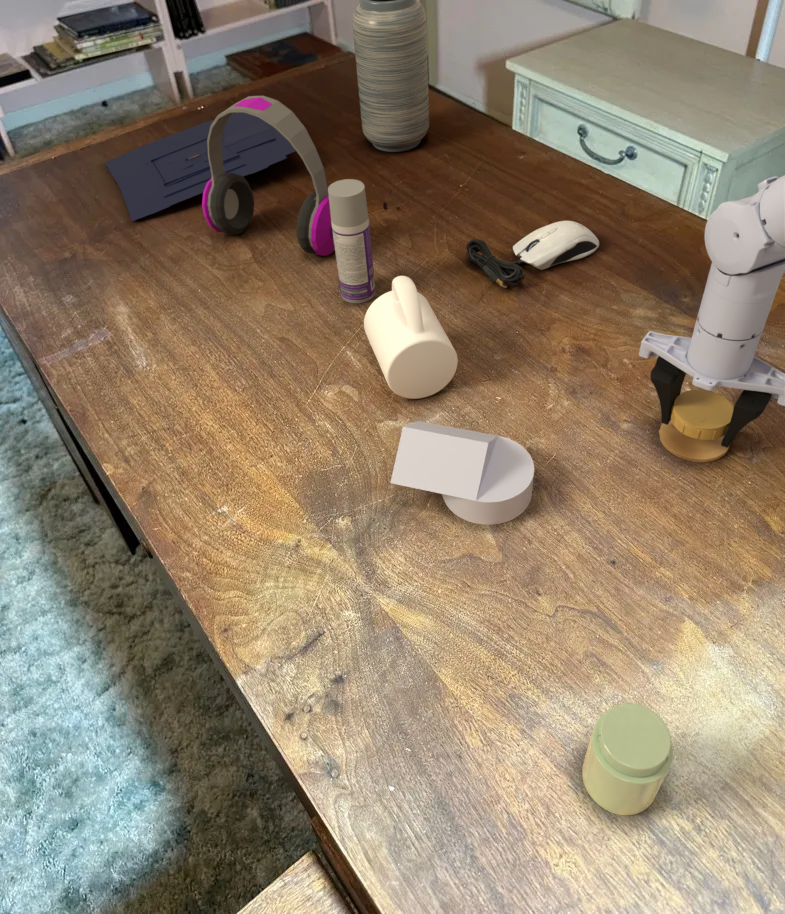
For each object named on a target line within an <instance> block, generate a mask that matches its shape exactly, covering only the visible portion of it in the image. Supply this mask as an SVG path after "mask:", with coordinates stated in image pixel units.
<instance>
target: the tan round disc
mask: <svg viewBox="0 0 785 914" xmlns="http://www.w3.org/2000/svg"><path fill="white" fill-rule="evenodd" d="M658 432H659V434H658V435H659V440H660V442H661V445H662V446H663V447H664V448H665V450H667V452H669V453H670V454H671V455H674V457H677V458H679V459H681V460H684V461H687V462H690V463H691V462H692V463H710V462H714V461H717V460H719V459H720V458H722V457H723V456H725V455H726V454H727V452H728V451H729V449H730V445H731V444H730V445H729V447H727V448H726V447H724V446H721V443H722V440H723V438H724V436H725V435H724V436H722V437H720V438H718V439H714V440H700V439H694V438H691V437H689V436H686V435H684V434H683V433H681V432H680V431H678V430H677V429H676V428H675V426H674V425H673V424H672V421H670V422H669V424H668V425H666V424H663V423H662V422H661V425H660V428H659V431H658Z"/></svg>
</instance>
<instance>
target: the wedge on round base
mask: <svg viewBox="0 0 785 914" xmlns="http://www.w3.org/2000/svg"><path fill="white" fill-rule="evenodd" d="M398 442H399V443H398V447H397V451H396V455H395V461H394V464H393V469H392V473H391V478H390V482H389V484H392V485H398V486H402V487H407V488H411V489H417V490H422V491H427V492H431V493H436V494H441V495H442V499H443V501H444V503H445V505H446V507H447V508H448V509H449V511H451V512H452V513H453V514H454V515H455V516H456V517H458V518H460V519H462V520H464V521H466V522H469V523H473V524H475V525H484V526H492V525H493V526H494V525H500V524H504V523H507V522H511V521H513V520H515V519H516V518H518V517H519V516H520V515H521V514H523V513H524V512H525V511H526V509H527V508H528V507H529V505H530V503H531V500H532V498H533V497H532V496H533V486H534V477H535V464H534V460H533V458H532V456H531V454H530V453H529V451H528V450H526V448H525V447H524V446H523V445H521V444H520V443H518V442H517V441H515V440H513V439H511V438H508V437H505V436H501V435H497V434H491V433H486V432H480V431H475V430H470V429H466V428H465V429H464V428H459V427H454V426H447V425H444V424H443V425H442V424H437V423H432V422H427V421H422V420H417V421H414V422H411V423H408V424H407V425H404V426H402V429H401V434H400V438H399V441H398Z"/></svg>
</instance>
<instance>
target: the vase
mask: <svg viewBox="0 0 785 914" xmlns="http://www.w3.org/2000/svg"><path fill="white" fill-rule="evenodd" d="M351 24H352V35H353V43H354V45H353V46H354V55H355V56H354V57H355V66H356V79H357V88H358V98H359V99H358V100H359V109H360V119H361V130H362V133H363V135H364V137H365V138H366V139H367V141H369V142H370V143H371V144H372V146H373V147H374V148H375V149H376V150H378V151H380V152H381V151H382V152H387V153H400V152H401V153H402V152H406V151H409V150H412V149H414V148H416V147H418V146H419V145H420V144H421V142H422V139H423V138H424V137H425V136H426V134H427V133H428V131H429V129H430V101H429V70H428V68H429V65H428V35H427V34H428V33H427V13H426V9H425V8H424V6H423V4H422V3H421V2H420V1H419V0H359V4H358V5H357V7H356V8H355V9H354V12H353V14H352V18H351Z"/></svg>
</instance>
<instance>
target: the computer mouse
mask: <svg viewBox="0 0 785 914" xmlns="http://www.w3.org/2000/svg"><path fill="white" fill-rule="evenodd" d="M599 247H600V241H599V238H598V237H597V236H596V234H594V233H593V231H591V230H590V229H589V228H588V227H586V226H585V225H584V224H582V223H579V222H576V221H573V220H560V221H556V222H551V223H550V224H547V225H544V226H542V227H539V228H537V229H535V230H534V231H532V232H530V233H528V234H527V235H526V236H524V237H522V238H521V239H520V240H518V241H517V242H516V243H515V244H513V246H512V250H513V253H514V254H515V256H516V257H518V259H517V260H516V261H513V262H509V261H506V260H502V259H499V258H497V257H496V256H495V255H493V253H492V251H491V250H490V247H489V245H488V244H487V243H486V242H485V241H484V240H483V239H480V238H473V239H470V240H469V241H468V242H467V244H466V255H465V256H466V258H467V259H468V260H469V261H470V262H473V263H474V264H475V265H477V266H479V268H480V269H481V270H482V271H483V272H484V273H485V274H486V276H487V277H489V278H490V279H491V280H492V281H493V283H496V284H498V285H499V286H500V287H502V288H504V289H507V288H508V286H509V285H513V286H519V285H520V282H522V281H524V279H525V272H524V269H523V268H522V267H521V266H520V265H524V264H528V265H530V266H532V267H534V268H536V269H538V270H540V271H541V270H542V271H543V270H547V269H549V268H551V267H553V266H556V265H560V264H563V263H568V262H573V261H577V260H581V259H583V258H586V257H588V256H590V255H592V254H594V253H595V252H596V251H597V249H598V248H599ZM478 252H480V253H478Z"/></svg>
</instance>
